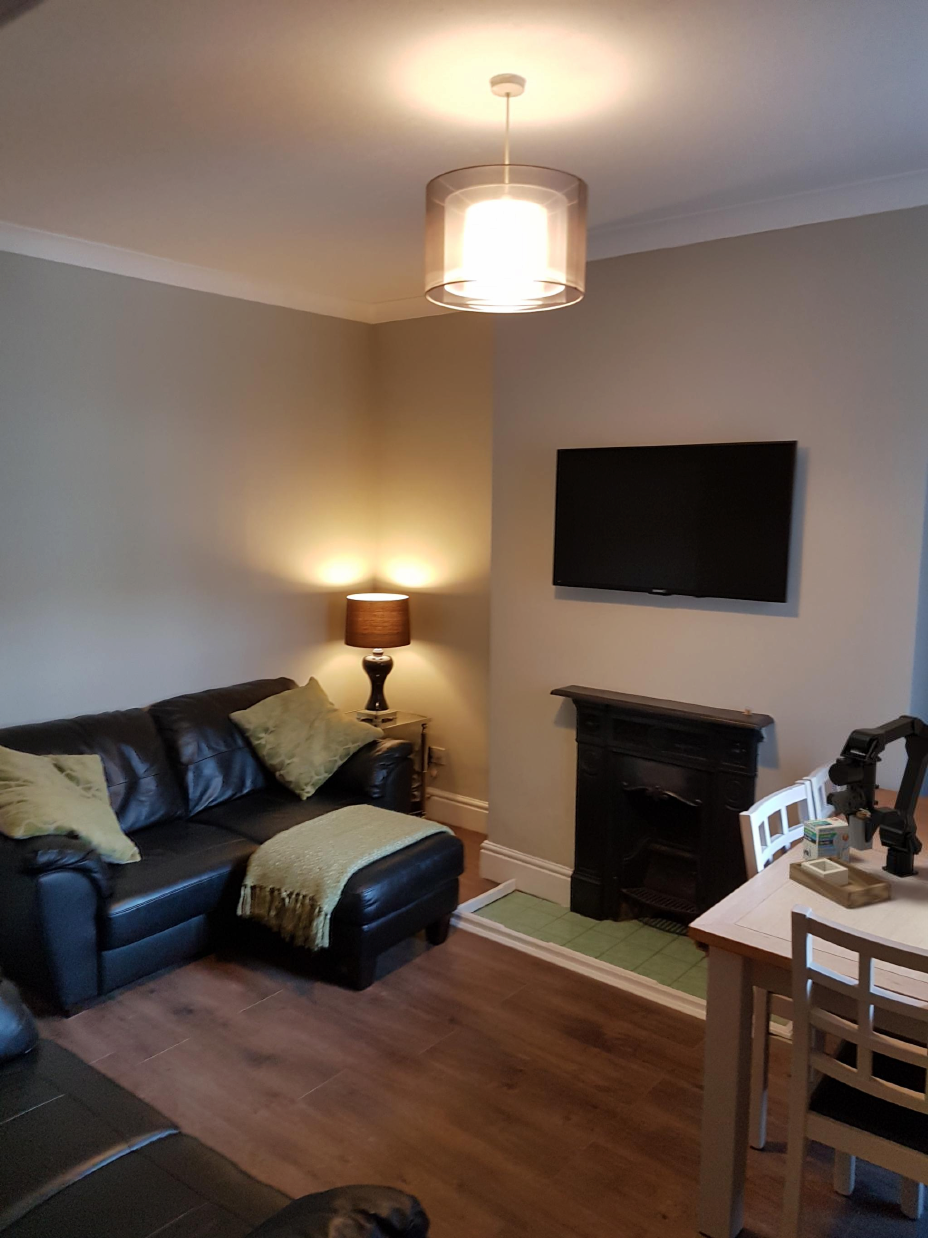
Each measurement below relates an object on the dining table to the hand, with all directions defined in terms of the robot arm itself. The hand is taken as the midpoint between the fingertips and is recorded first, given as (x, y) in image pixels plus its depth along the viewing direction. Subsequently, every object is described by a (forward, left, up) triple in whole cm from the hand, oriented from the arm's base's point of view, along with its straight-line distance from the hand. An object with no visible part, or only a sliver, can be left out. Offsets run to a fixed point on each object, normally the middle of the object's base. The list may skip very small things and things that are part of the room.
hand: (860, 839), depth 233 cm
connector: (0, 0, -2) cm, 2 cm away
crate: (+6, -1, -12) cm, 14 cm away
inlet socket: (+7, -5, -12) cm, 15 cm away
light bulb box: (-5, -17, -13) cm, 22 cm away
